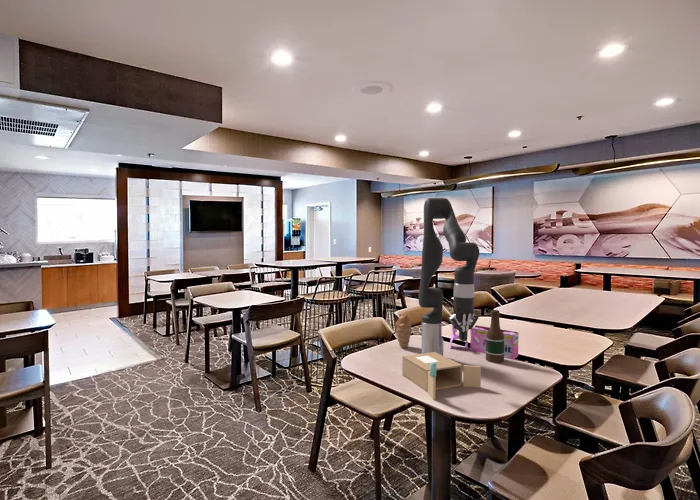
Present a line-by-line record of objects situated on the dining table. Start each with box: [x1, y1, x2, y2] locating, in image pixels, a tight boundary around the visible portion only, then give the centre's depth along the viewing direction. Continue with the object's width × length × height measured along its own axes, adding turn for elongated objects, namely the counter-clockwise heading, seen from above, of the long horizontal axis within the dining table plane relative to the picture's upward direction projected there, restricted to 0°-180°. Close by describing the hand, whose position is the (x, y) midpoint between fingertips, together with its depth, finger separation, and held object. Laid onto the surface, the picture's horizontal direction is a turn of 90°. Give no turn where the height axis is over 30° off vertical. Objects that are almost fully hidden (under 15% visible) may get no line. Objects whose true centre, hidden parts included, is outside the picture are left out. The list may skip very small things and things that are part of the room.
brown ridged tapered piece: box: [395, 313, 412, 349], centre depth 192 cm, size 9×8×18 cm
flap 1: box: [427, 362, 437, 401], centre depth 133 cm, size 6×2×12 cm, turn 6°
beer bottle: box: [485, 309, 505, 364], centre depth 170 cm, size 8×8×24 cm
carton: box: [401, 352, 463, 393], centre depth 148 cm, size 16×18×8 cm
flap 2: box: [462, 364, 482, 389], centre depth 142 cm, size 6×1×8 cm, turn 81°
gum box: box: [469, 324, 520, 361], centre depth 181 cm, size 22×7×13 cm, turn 46°
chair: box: [449, 325, 469, 350], centre depth 190 cm, size 8×9×15 cm
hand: (463, 340), depth 140 cm, fingers closed
